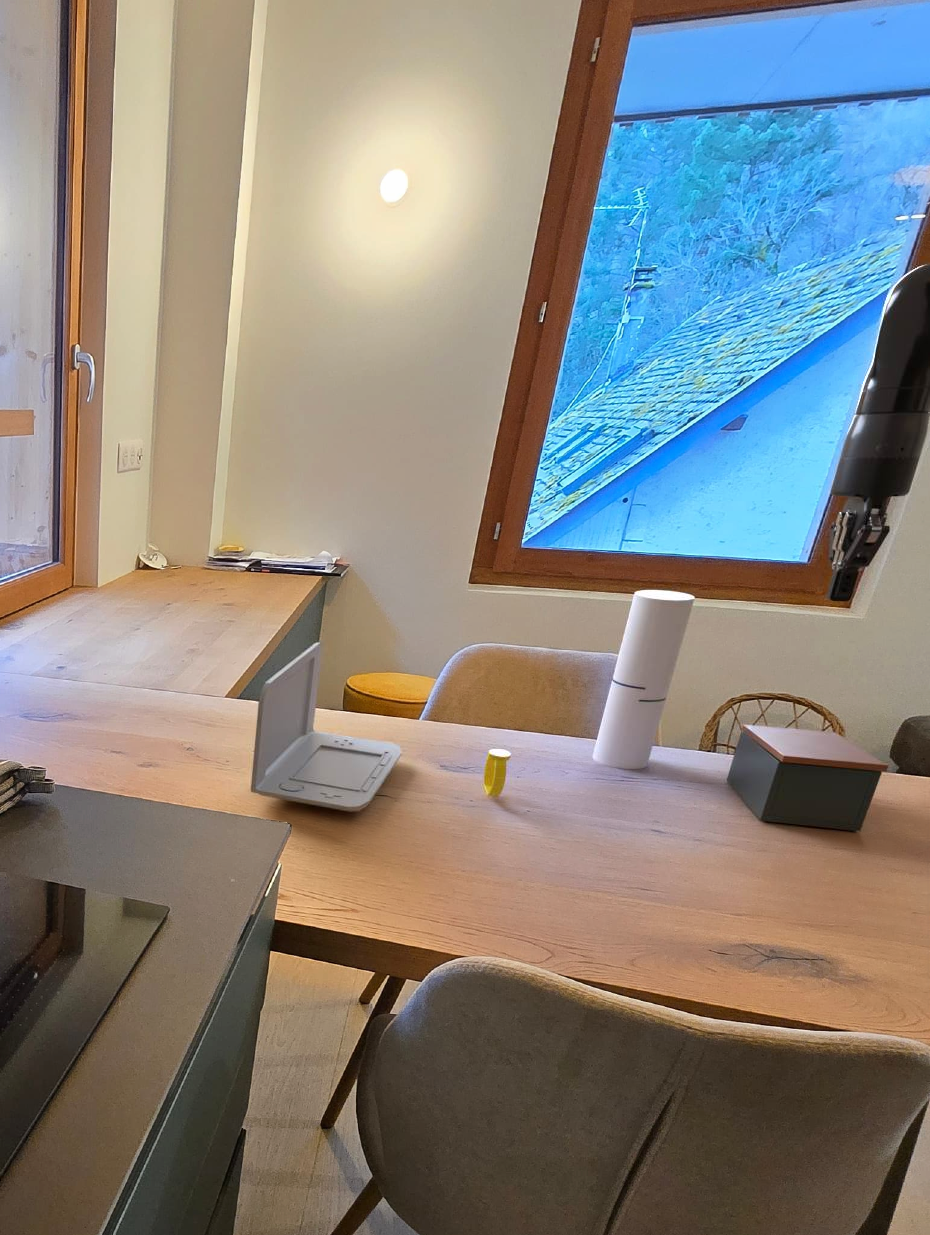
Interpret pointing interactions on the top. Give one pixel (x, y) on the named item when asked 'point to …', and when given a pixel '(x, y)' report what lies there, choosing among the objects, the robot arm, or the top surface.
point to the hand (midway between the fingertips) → (837, 600)
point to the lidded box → (800, 789)
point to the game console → (312, 746)
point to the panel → (813, 748)
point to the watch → (495, 771)
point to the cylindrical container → (642, 677)
